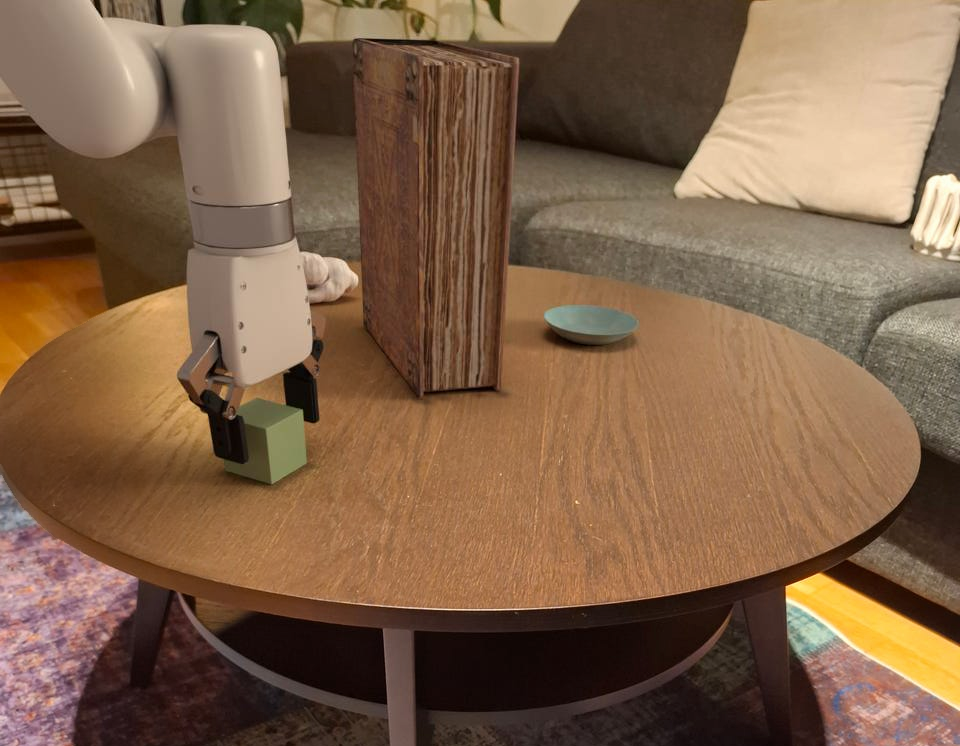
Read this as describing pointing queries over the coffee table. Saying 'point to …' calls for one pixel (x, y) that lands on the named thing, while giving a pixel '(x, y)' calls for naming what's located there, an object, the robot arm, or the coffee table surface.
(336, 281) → the baby figurine
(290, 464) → the block
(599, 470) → the coffee table surface
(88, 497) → the coffee table surface
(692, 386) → the coffee table surface
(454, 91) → the book
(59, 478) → the coffee table surface
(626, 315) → the saucer
